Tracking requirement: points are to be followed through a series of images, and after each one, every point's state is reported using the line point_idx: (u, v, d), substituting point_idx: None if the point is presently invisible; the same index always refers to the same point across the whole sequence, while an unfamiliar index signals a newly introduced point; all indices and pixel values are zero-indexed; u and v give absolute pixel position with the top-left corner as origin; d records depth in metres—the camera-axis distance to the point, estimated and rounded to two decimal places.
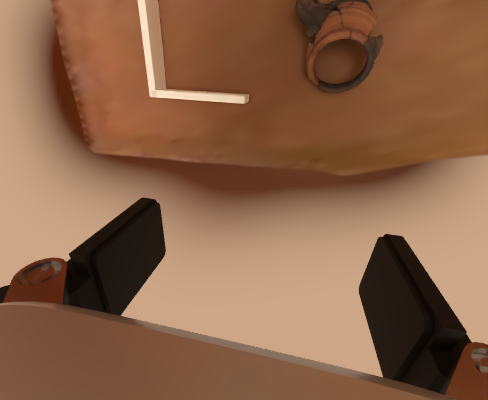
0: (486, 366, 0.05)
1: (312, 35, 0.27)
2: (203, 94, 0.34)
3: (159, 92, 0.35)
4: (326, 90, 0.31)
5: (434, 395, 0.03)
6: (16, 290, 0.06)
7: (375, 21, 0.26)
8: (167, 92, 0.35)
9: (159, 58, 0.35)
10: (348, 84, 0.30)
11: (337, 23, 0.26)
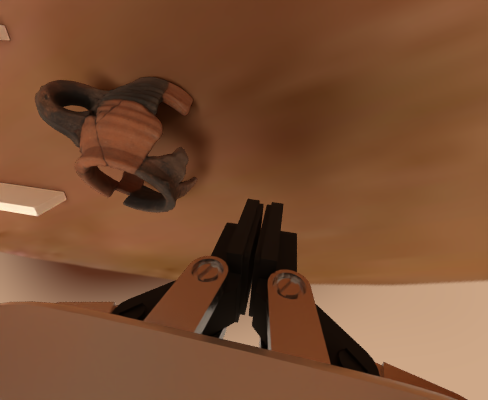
0: (281, 287, 0.07)
1: (77, 146, 0.17)
2: None
3: None
4: (137, 209, 0.21)
5: (434, 395, 0.03)
6: (199, 286, 0.06)
7: (156, 134, 0.16)
8: None
9: None
10: (159, 207, 0.20)
11: (92, 138, 0.16)
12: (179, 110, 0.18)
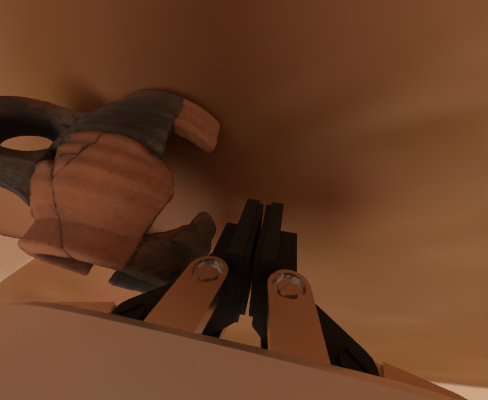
0: (282, 287, 0.07)
1: (29, 205, 0.10)
2: None
3: None
4: None
5: (434, 395, 0.03)
6: (200, 286, 0.06)
7: (163, 196, 0.09)
8: None
9: None
10: None
11: (47, 203, 0.08)
12: (201, 146, 0.11)
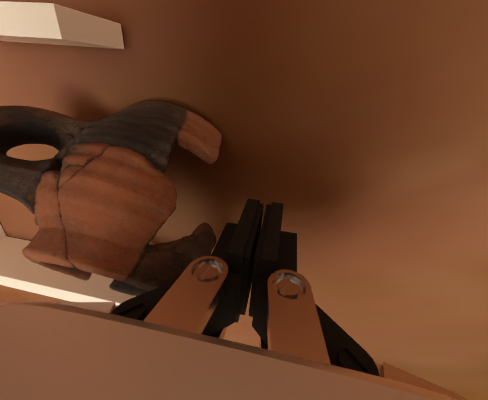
0: (281, 287, 0.07)
1: (33, 213, 0.10)
2: (45, 287, 0.16)
3: None
4: None
5: (434, 395, 0.03)
6: (200, 286, 0.06)
7: (165, 209, 0.09)
8: None
9: None
10: None
11: (52, 214, 0.09)
12: (203, 157, 0.11)
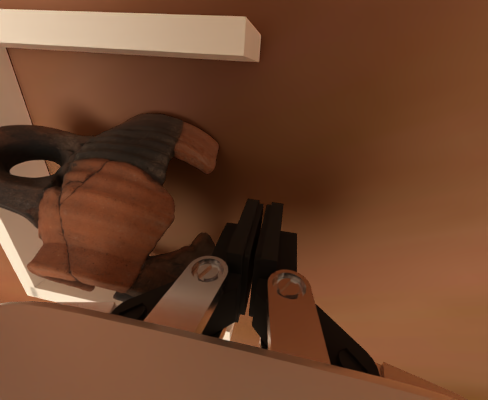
0: (281, 287, 0.07)
1: (37, 228, 0.11)
2: None
3: (44, 292, 0.16)
4: None
5: (434, 395, 0.03)
6: (200, 286, 0.06)
7: (164, 221, 0.09)
8: (60, 295, 0.16)
9: None
10: None
11: (54, 229, 0.09)
12: (200, 168, 0.11)
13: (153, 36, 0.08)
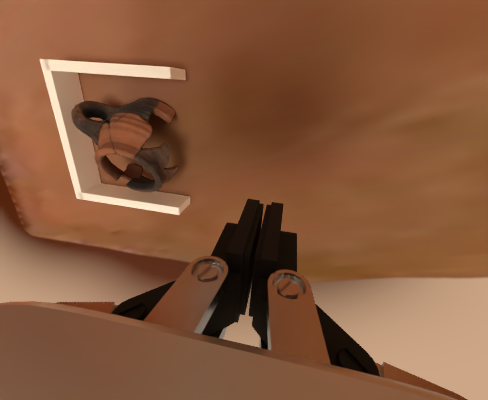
0: (282, 287, 0.07)
1: (96, 143, 0.26)
2: (133, 201, 0.30)
3: (86, 195, 0.31)
4: (136, 190, 0.29)
5: (434, 395, 0.03)
6: (199, 286, 0.06)
7: (148, 133, 0.24)
8: (94, 196, 0.31)
9: (87, 157, 0.31)
10: (151, 187, 0.28)
11: (107, 137, 0.24)
12: (165, 119, 0.26)
13: (141, 72, 0.23)
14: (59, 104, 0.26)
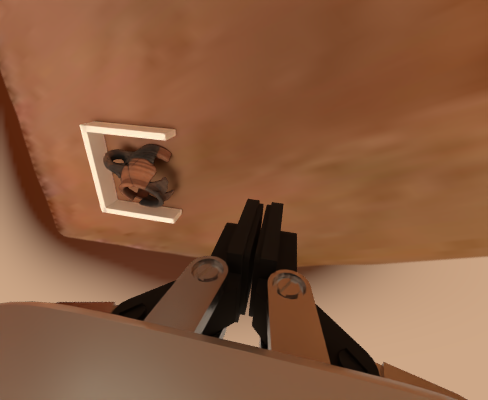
0: (282, 287, 0.07)
1: (119, 177, 0.39)
2: (142, 214, 0.43)
3: (109, 209, 0.44)
4: (146, 206, 0.42)
5: (434, 395, 0.03)
6: (199, 286, 0.06)
7: (153, 172, 0.37)
8: (115, 210, 0.44)
9: (109, 183, 0.44)
10: (156, 204, 0.41)
11: (127, 175, 0.37)
12: (164, 160, 0.39)
13: (146, 135, 0.36)
14: (91, 152, 0.39)
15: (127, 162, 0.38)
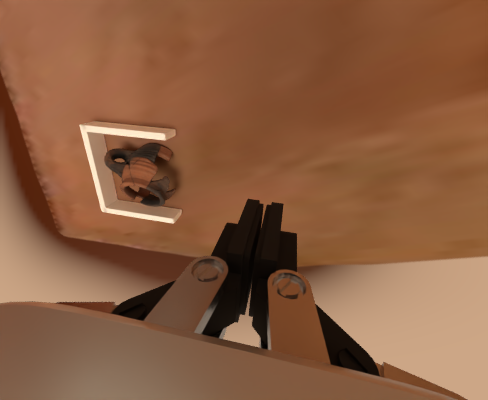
0: (282, 287, 0.07)
1: (120, 176, 0.39)
2: (142, 214, 0.43)
3: (109, 209, 0.44)
4: (147, 205, 0.42)
5: (434, 395, 0.03)
6: (199, 286, 0.06)
7: (154, 171, 0.37)
8: (114, 210, 0.44)
9: (109, 183, 0.44)
10: (157, 203, 0.41)
11: (128, 174, 0.37)
12: (165, 159, 0.39)
13: (146, 135, 0.36)
14: (91, 151, 0.39)
15: (128, 161, 0.38)
